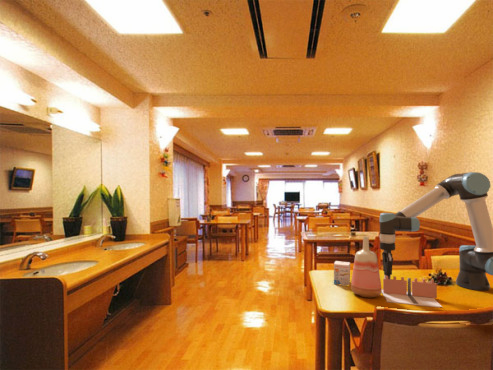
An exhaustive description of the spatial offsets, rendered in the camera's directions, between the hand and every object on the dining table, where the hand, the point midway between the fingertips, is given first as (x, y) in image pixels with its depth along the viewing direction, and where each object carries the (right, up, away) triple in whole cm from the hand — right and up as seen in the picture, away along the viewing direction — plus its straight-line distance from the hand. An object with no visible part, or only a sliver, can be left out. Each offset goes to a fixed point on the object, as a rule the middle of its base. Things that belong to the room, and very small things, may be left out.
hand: (387, 286), depth 153 cm
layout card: (+6, -2, -10) cm, 12 cm away
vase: (-14, -2, -6) cm, 15 cm away
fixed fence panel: (+13, -2, -8) cm, 16 cm away
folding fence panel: (+1, -2, -5) cm, 5 cm away
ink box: (-20, -3, +14) cm, 24 cm away
